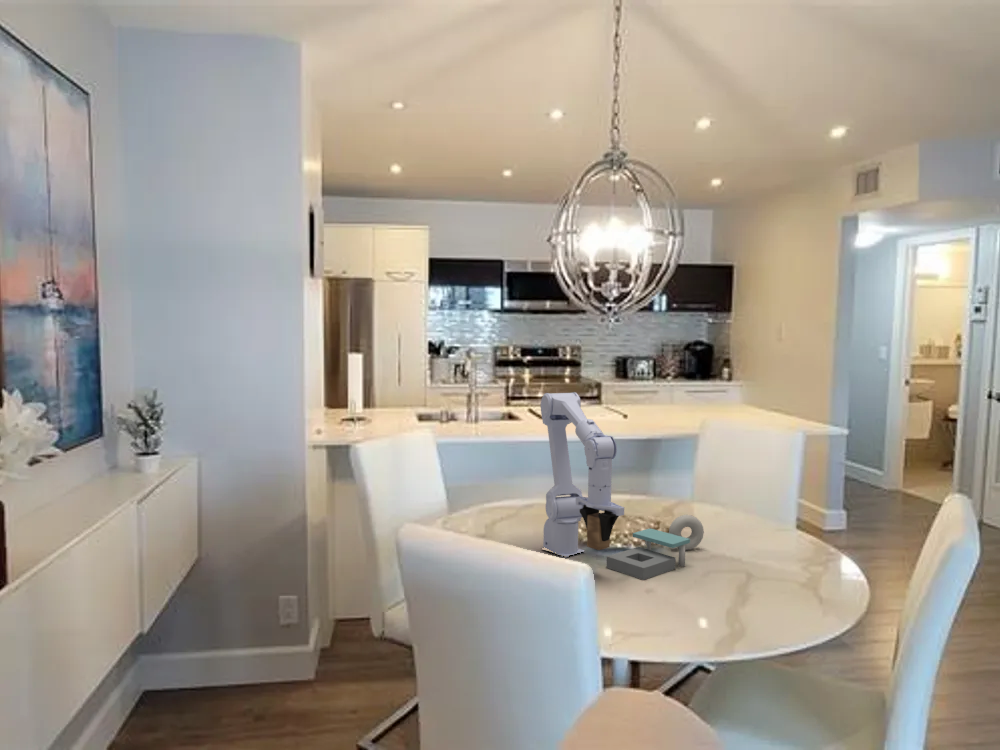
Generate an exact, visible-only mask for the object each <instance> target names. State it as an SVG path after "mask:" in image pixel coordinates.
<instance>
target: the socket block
mask: <svg viewBox="0 0 1000 750" xmlns="http://www.w3.org/2000/svg"><path fill="white" fill-rule="evenodd" d="M606 567H607V568H606ZM606 567H605V568H606V569H609V570H612V571H616V572H618V573H622V574H625V575H627V576H631V577H633V578H637V579H639V580H642V581H645V580H648V579H651V578H653V577H656V576H659V575H662V574H666V573H668V572H670V571H674V570H676V557H674V556H672V555H668V554H665V553H662V552H658V551H655V550H652V549H651V550H648V549H645V547H640V546H637V547H634V548H630V549H627V550H626V549H625V550H624V551H619V552H617V553H613V554H610V555H606ZM673 569H674V570H673Z"/></svg>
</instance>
